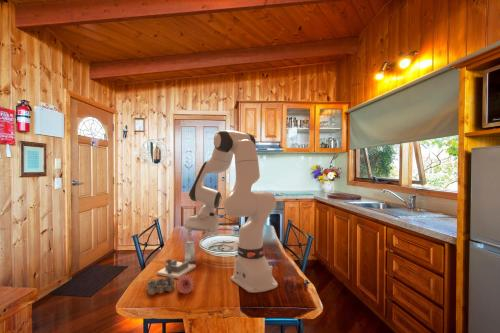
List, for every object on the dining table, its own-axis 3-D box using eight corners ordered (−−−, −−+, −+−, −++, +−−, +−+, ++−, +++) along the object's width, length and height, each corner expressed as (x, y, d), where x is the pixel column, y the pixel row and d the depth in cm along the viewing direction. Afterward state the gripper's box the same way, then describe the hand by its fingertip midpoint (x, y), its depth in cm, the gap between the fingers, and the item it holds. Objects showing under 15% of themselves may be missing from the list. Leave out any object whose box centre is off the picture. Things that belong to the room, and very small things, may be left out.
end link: (194, 260, 140) (194, 241, 140) (190, 262, 137) (190, 243, 137) (188, 259, 141) (188, 241, 141) (184, 261, 138) (184, 243, 138)
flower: (175, 273, 110) (180, 269, 106) (193, 278, 113) (198, 274, 109) (170, 293, 104) (175, 290, 101) (189, 298, 107) (194, 295, 104)
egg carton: (146, 296, 103) (146, 286, 103) (147, 287, 110) (146, 278, 110) (175, 291, 107) (174, 281, 107) (173, 283, 114) (173, 274, 114)
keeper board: (175, 263, 135) (175, 248, 135) (195, 267, 131) (195, 251, 131) (155, 275, 121) (155, 258, 121) (177, 279, 117) (177, 262, 117)
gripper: (188, 211, 155) (177, 232, 146) (218, 214, 148) (210, 236, 139) (192, 217, 160) (182, 238, 151) (222, 220, 152) (214, 242, 143)
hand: (196, 237), depth 145 cm, fingers open, 8 cm apart
